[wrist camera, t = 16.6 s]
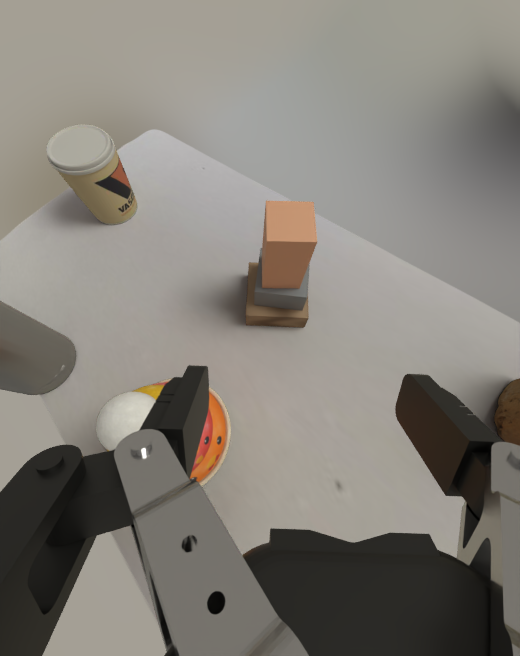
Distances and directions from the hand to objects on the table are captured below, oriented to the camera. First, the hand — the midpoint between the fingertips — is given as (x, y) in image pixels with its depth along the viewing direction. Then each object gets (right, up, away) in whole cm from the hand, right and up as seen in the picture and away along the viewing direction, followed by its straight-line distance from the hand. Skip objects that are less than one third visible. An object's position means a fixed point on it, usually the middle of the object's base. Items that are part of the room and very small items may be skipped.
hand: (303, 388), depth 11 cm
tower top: (+1, +9, +30) cm, 31 cm away
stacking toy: (-13, -12, +26) cm, 31 cm away
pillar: (+1, +10, +26) cm, 28 cm away
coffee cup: (-28, +24, +40) cm, 55 cm away
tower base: (+1, +7, +34) cm, 35 cm away
